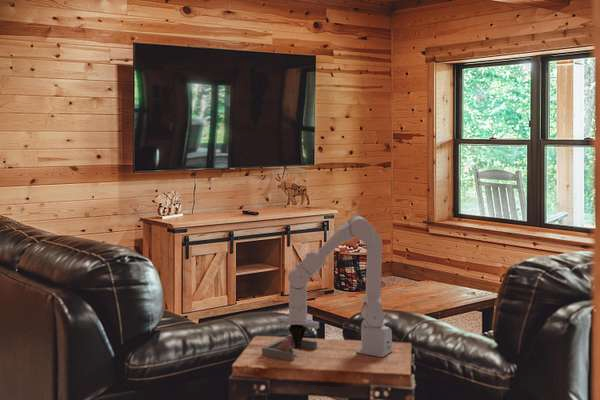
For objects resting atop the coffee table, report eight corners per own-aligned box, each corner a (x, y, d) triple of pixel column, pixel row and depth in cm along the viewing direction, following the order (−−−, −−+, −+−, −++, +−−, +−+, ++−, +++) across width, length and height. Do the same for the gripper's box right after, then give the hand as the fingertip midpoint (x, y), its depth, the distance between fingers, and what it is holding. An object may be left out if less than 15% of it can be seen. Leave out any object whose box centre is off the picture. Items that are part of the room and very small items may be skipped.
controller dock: (317, 348, 243) (317, 341, 243) (291, 361, 230) (291, 353, 230) (288, 343, 249) (288, 336, 249) (262, 355, 236) (262, 347, 236)
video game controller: (283, 361, 235) (292, 342, 233) (271, 353, 236) (280, 335, 235) (295, 352, 244) (304, 334, 242) (284, 345, 246) (292, 327, 244)
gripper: (272, 305, 237) (272, 347, 238) (311, 311, 229) (311, 354, 230) (284, 301, 243) (284, 342, 244) (322, 306, 235) (322, 348, 236)
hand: (298, 347), depth 238 cm, fingers closed
